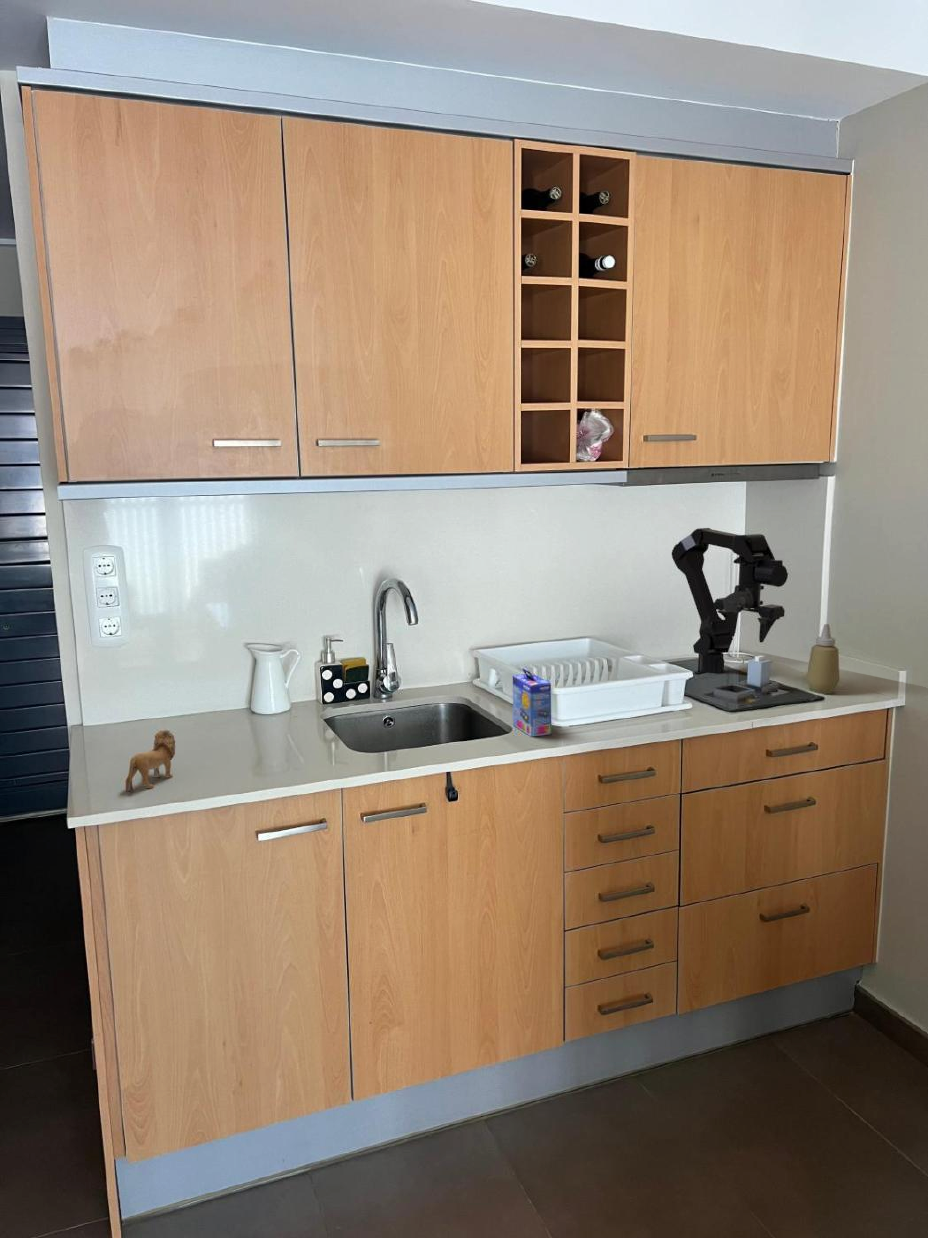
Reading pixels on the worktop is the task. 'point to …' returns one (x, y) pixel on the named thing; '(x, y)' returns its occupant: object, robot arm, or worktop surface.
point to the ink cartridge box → (532, 704)
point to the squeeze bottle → (823, 664)
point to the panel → (745, 692)
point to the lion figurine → (153, 759)
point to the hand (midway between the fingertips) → (746, 639)
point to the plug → (759, 671)
